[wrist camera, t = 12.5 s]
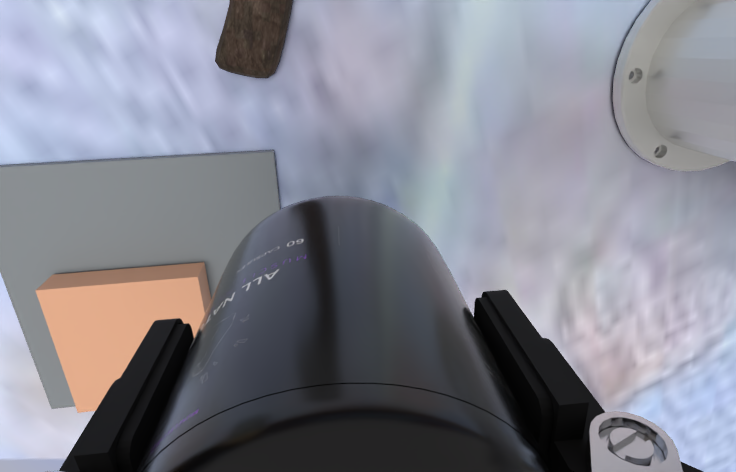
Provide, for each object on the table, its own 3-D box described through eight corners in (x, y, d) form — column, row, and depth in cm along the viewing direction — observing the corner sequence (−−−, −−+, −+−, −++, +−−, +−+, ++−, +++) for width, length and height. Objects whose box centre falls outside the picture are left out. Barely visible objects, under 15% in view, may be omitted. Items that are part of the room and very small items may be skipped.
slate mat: (273, 150, 28) (273, 152, 27) (298, 376, 35) (298, 381, 34) (-31, 166, 26) (-39, 169, 26) (55, 402, 33) (51, 408, 32)
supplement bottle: (227, 173, 13) (-428, 1104, 2) (466, 204, 14) (1085, 912, 3) (217, 376, 15) (-60, 1269, 4) (419, 390, 16) (629, 1141, 5)
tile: (197, 276, 27) (220, 396, 31) (205, 260, 30) (225, 374, 33) (35, 290, 26) (77, 412, 30) (54, 272, 29) (92, 388, 32)
